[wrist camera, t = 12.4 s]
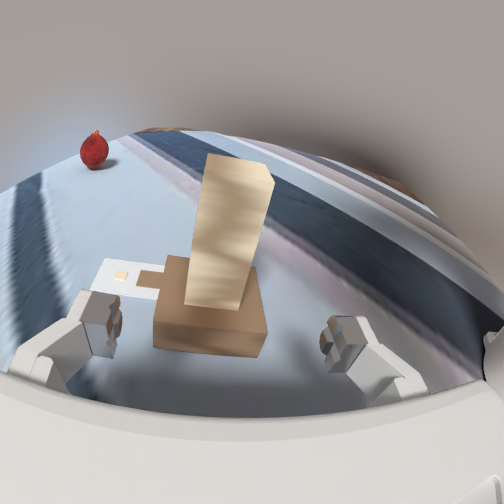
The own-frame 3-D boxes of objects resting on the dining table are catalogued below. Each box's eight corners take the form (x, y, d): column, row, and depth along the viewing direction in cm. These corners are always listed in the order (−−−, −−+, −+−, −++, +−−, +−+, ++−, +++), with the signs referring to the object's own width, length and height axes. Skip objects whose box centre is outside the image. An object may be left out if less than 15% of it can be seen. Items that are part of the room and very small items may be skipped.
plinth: (247, 291, 28) (255, 267, 27) (257, 357, 22) (267, 333, 20) (165, 281, 27) (167, 254, 25) (153, 347, 20) (153, 320, 18)
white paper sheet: (178, 268, 29) (178, 266, 29) (173, 302, 25) (173, 299, 25) (105, 259, 27) (104, 257, 27) (89, 290, 23) (89, 288, 23)
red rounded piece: (98, 175, 46) (100, 133, 42) (74, 172, 46) (75, 132, 42) (112, 166, 51) (114, 128, 47) (89, 164, 51) (90, 127, 47)
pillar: (234, 277, 25) (264, 164, 19) (237, 310, 21) (274, 182, 16) (188, 271, 24) (207, 153, 19) (184, 304, 20) (205, 169, 15)
